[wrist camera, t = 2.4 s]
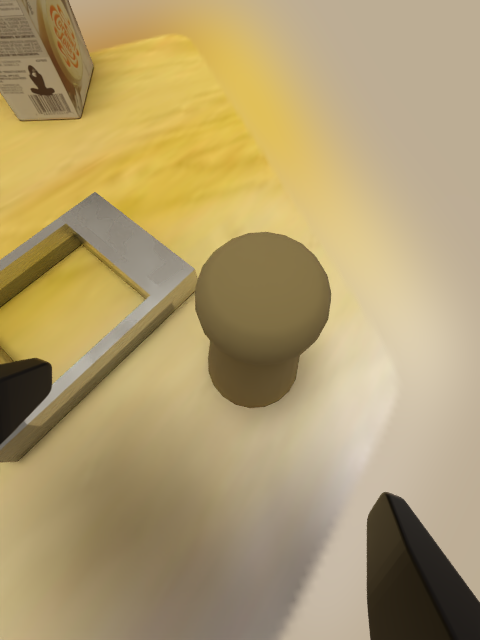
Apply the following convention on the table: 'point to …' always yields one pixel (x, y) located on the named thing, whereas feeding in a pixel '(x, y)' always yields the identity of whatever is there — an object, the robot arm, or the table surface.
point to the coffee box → (42, 60)
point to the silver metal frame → (161, 300)
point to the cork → (260, 314)
